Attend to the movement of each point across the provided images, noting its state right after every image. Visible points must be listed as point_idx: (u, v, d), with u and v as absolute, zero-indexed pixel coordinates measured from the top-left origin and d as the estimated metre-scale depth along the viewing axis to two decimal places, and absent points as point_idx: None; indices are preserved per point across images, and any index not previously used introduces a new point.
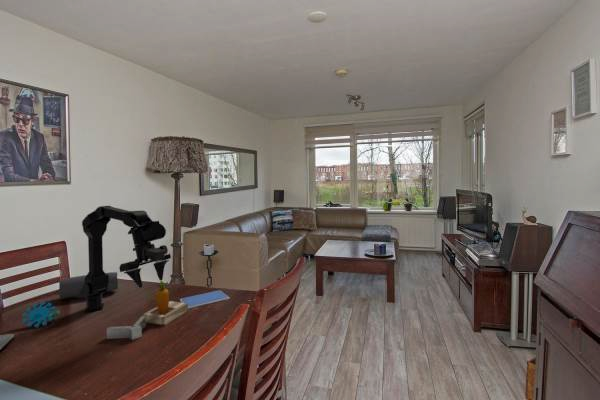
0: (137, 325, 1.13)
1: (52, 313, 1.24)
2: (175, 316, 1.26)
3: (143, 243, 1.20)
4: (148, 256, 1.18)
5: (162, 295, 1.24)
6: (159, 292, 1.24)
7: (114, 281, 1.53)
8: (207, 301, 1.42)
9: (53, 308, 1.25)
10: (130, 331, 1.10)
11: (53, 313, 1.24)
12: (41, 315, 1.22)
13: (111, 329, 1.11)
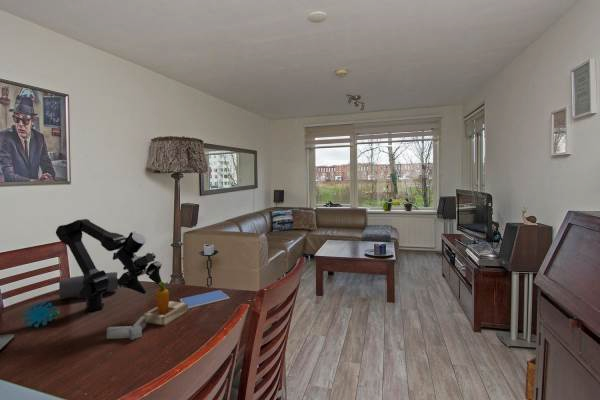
0: (137, 325, 1.13)
1: (52, 313, 1.24)
2: (175, 316, 1.26)
3: (130, 257, 1.28)
4: (139, 263, 1.25)
5: (162, 295, 1.24)
6: (159, 292, 1.24)
7: (114, 281, 1.53)
8: (207, 301, 1.42)
9: (53, 308, 1.25)
10: (130, 331, 1.10)
11: (53, 313, 1.24)
12: (41, 315, 1.22)
13: (111, 329, 1.11)
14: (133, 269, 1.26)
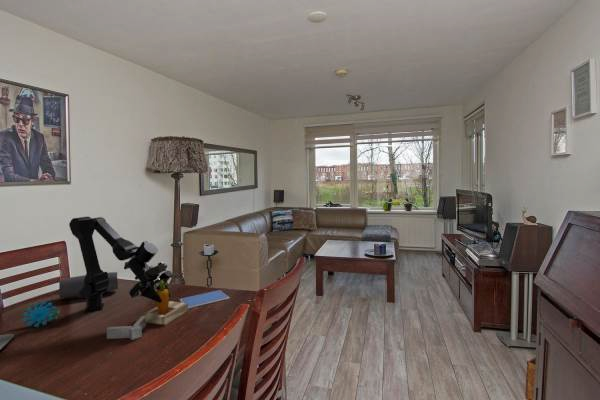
0: (137, 325, 1.13)
1: (52, 313, 1.24)
2: (175, 316, 1.26)
3: (142, 267, 1.26)
4: (151, 274, 1.24)
5: (162, 295, 1.24)
6: (159, 292, 1.24)
7: (114, 281, 1.53)
8: (207, 301, 1.42)
9: (53, 308, 1.25)
10: (130, 331, 1.10)
11: (53, 313, 1.24)
12: (41, 315, 1.22)
13: (111, 329, 1.11)
14: (145, 279, 1.25)
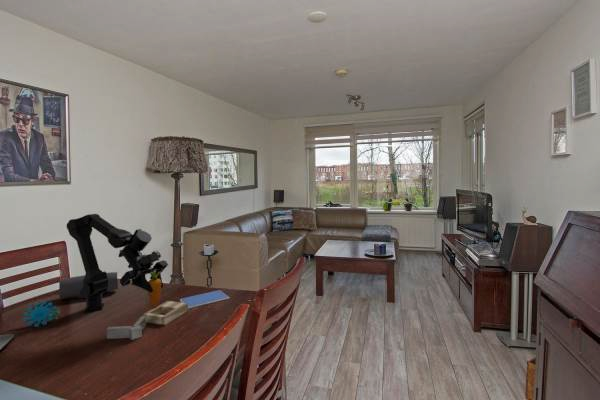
0: (137, 325, 1.13)
1: (52, 313, 1.24)
2: (175, 316, 1.26)
3: (135, 255, 1.24)
4: (143, 262, 1.21)
5: (153, 284, 1.21)
6: (151, 281, 1.21)
7: (114, 281, 1.53)
8: (207, 301, 1.42)
9: (54, 308, 1.25)
10: (130, 331, 1.10)
11: (53, 313, 1.24)
12: (41, 315, 1.22)
13: (111, 329, 1.11)
14: (137, 268, 1.22)
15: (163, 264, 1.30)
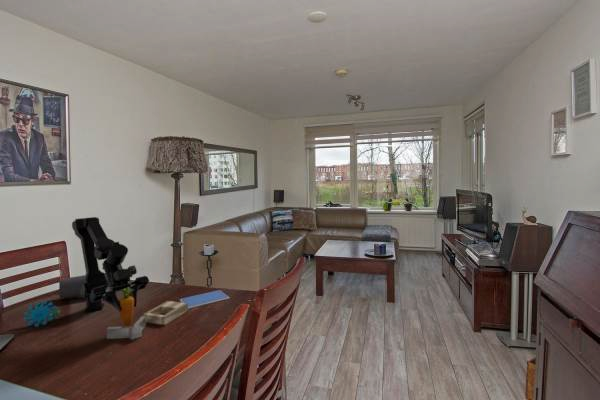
0: (137, 325, 1.13)
1: (52, 313, 1.24)
2: (175, 316, 1.26)
3: (111, 269, 1.18)
4: (115, 278, 1.14)
5: (122, 303, 1.13)
6: (121, 299, 1.13)
7: None
8: (207, 301, 1.42)
9: (54, 308, 1.25)
10: (130, 331, 1.10)
11: (53, 313, 1.24)
12: (42, 314, 1.22)
13: (111, 329, 1.11)
14: (111, 283, 1.16)
15: (142, 280, 1.21)
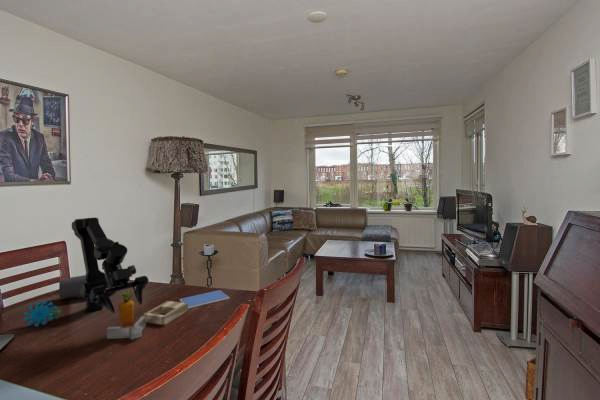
0: (137, 325, 1.13)
1: (53, 313, 1.24)
2: (175, 316, 1.26)
3: (111, 269, 1.18)
4: (114, 278, 1.14)
5: (123, 307, 1.12)
6: (121, 304, 1.13)
7: None
8: (207, 301, 1.42)
9: (54, 308, 1.25)
10: (130, 331, 1.10)
11: (53, 313, 1.24)
12: (42, 314, 1.22)
13: (111, 329, 1.11)
14: (111, 283, 1.16)
15: (141, 280, 1.21)
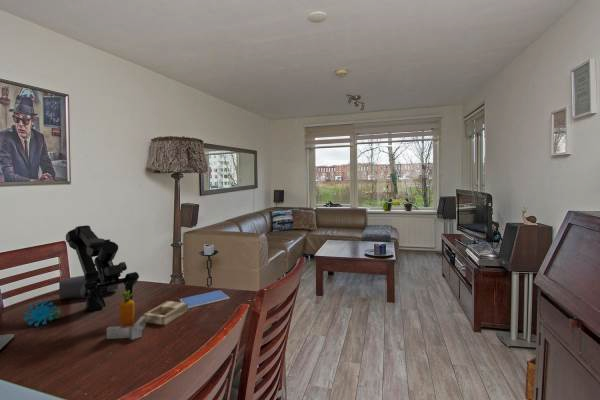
0: (137, 325, 1.13)
1: (53, 312, 1.24)
2: (175, 316, 1.26)
3: (103, 266, 1.23)
4: (106, 274, 1.20)
5: (123, 306, 1.13)
6: (121, 303, 1.13)
7: None
8: (207, 301, 1.42)
9: (54, 307, 1.25)
10: (130, 331, 1.10)
11: (54, 313, 1.24)
12: (42, 314, 1.22)
13: (111, 329, 1.11)
14: (102, 279, 1.21)
15: (132, 276, 1.26)
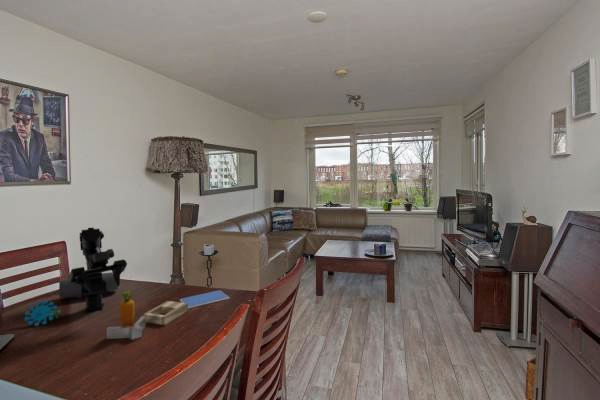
0: (137, 325, 1.13)
1: (53, 312, 1.24)
2: (175, 316, 1.26)
3: (90, 253, 1.25)
4: (93, 260, 1.21)
5: (123, 306, 1.13)
6: (121, 303, 1.13)
7: (114, 281, 1.53)
8: (207, 301, 1.42)
9: (54, 307, 1.26)
10: (130, 331, 1.10)
11: (54, 312, 1.24)
12: (42, 314, 1.23)
13: (111, 329, 1.11)
14: (90, 265, 1.23)
15: (120, 263, 1.28)
